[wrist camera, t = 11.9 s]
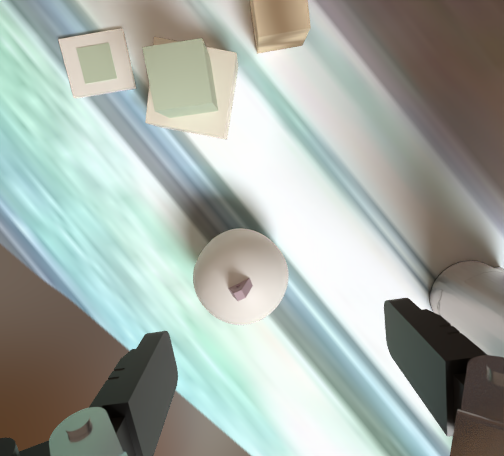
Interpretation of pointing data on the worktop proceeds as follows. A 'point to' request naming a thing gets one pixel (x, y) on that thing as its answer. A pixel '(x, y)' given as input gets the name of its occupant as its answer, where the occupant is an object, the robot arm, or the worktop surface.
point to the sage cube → (180, 78)
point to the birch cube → (279, 23)
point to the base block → (224, 85)
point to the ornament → (240, 276)
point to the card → (97, 63)
